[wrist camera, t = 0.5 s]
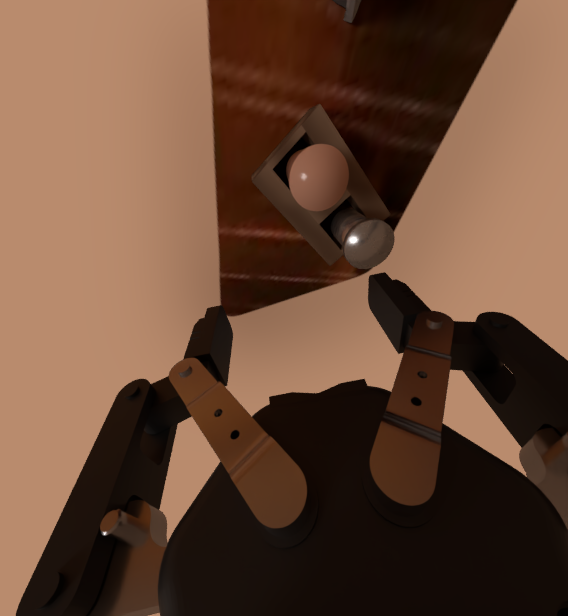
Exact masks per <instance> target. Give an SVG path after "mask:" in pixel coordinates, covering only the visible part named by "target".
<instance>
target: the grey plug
mask: <svg viewBox="0 0 568 616" xmlns="http://www.w3.org/2000/svg"><path fill="white" fill-rule="evenodd" d="M331 231H332V234H333V235H334V237H335V238H336V239H337V240H338V241H339V242H340V244H341V245H342V246H343V254H344V256H345V258H346V259H347V261H348V262H349V263H350V264H351V265H352V266H354V267H356V268H359V269H368V268H372V267H375V266H377V265H378V264H380V263H381V262H383V261H384V260H385V259H386V258H387V257H388V255H389V254H390V252H391V250H392V248H393V245H394V233H393V230H392V228H391V227H390V226H389V225H388V224H387V223H385V222H383V221H382V220H380V219H376V218H366V217H365V216H363V215H362V214H360V213H359V212H357V211H356V210H354V209H350V208H348V209H343V210H341V211H339V212H338V213H337V214H336V215H335V216H334V218H333V220H332V222H331Z"/></svg>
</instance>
